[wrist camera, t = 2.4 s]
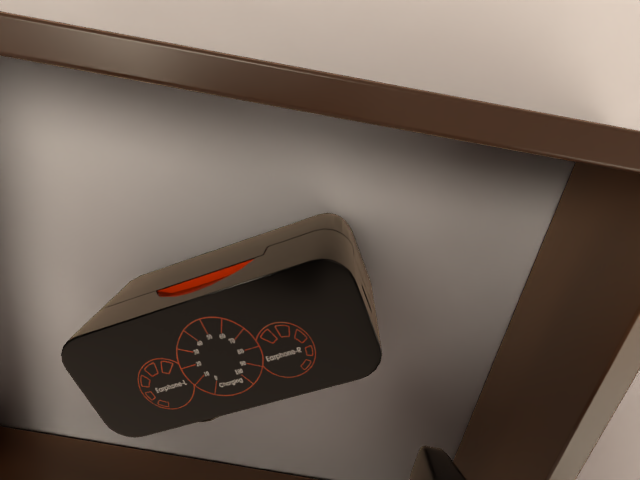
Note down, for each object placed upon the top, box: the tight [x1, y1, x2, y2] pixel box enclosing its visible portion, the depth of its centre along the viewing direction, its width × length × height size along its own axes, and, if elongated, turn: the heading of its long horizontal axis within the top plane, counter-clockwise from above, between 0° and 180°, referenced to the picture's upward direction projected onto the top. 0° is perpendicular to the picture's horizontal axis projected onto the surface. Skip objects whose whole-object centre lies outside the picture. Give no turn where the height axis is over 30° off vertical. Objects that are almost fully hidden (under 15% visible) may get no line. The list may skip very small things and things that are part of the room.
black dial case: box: [61, 213, 382, 437], centre depth 10 cm, size 5×7×3 cm, turn 111°
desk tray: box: [0, 11, 640, 480], centre depth 10 cm, size 13×16×4 cm
